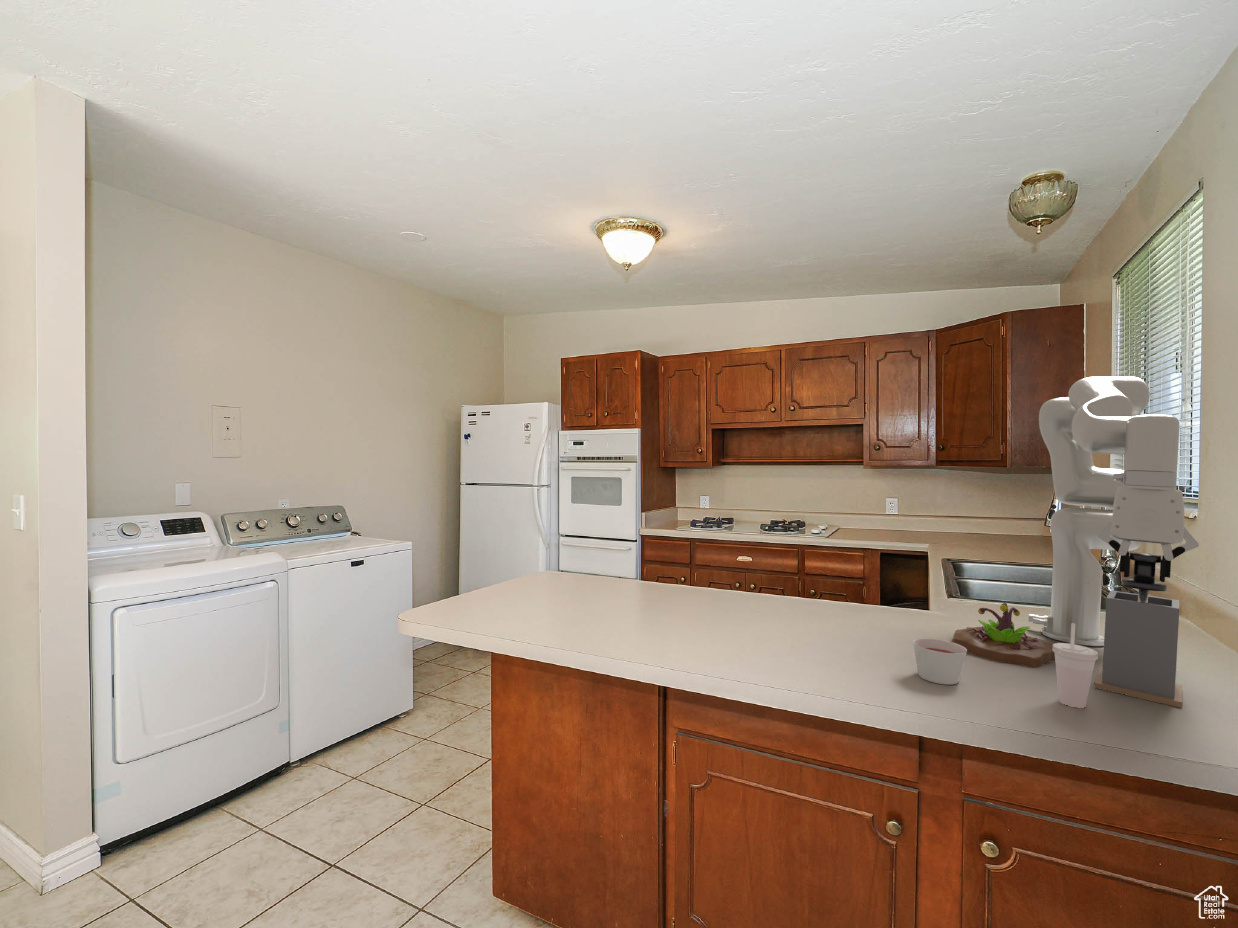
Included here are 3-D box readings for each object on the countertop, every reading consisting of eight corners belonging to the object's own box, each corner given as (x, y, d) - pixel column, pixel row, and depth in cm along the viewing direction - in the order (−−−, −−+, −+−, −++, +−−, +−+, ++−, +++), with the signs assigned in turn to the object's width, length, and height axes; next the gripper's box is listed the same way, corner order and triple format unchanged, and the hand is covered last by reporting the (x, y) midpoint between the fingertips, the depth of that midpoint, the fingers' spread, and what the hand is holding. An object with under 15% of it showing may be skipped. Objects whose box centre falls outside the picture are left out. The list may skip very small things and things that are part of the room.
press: (1094, 687, 113) (1099, 597, 113) (1100, 672, 122) (1104, 588, 121) (1181, 707, 105) (1187, 610, 104) (1181, 689, 114) (1186, 600, 113)
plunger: (1112, 682, 113) (1119, 553, 113) (1115, 673, 118) (1122, 549, 118) (1163, 694, 108) (1170, 558, 108) (1163, 684, 113) (1170, 555, 113)
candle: (903, 668, 119) (905, 637, 119) (949, 671, 119) (951, 639, 119) (925, 686, 110) (927, 652, 110) (975, 688, 110) (977, 654, 110)
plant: (940, 649, 134) (942, 599, 134) (964, 632, 148) (966, 587, 148) (1049, 674, 120) (1052, 619, 120) (1064, 653, 134) (1067, 603, 134)
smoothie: (1040, 696, 108) (1044, 618, 107) (1073, 696, 108) (1078, 618, 108) (1070, 711, 101) (1074, 628, 101) (1105, 711, 102) (1110, 629, 102)
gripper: (1090, 478, 116) (1085, 573, 116) (1213, 484, 104) (1207, 589, 104) (1094, 478, 121) (1089, 569, 121) (1211, 484, 110) (1206, 584, 110)
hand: (1144, 577), depth 113 cm, fingers closed on plunger, 4 cm apart
